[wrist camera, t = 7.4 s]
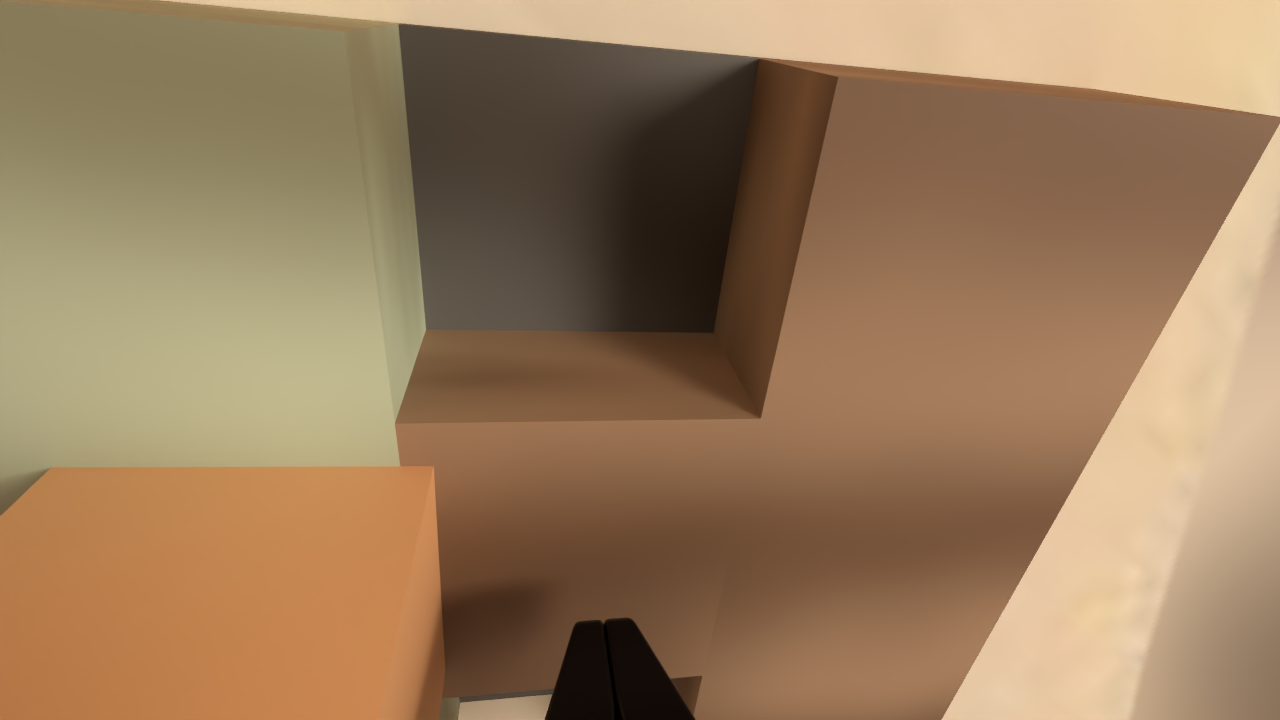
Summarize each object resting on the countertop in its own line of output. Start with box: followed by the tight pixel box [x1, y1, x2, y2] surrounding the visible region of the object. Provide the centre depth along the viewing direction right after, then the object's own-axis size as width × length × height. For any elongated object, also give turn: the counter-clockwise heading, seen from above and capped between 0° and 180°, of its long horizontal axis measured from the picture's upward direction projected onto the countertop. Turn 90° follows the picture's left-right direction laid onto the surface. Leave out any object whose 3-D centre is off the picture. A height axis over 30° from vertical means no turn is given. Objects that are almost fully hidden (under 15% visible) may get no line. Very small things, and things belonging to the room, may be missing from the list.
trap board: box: [0, 0, 1280, 720], centre depth 11 cm, size 15×17×3 cm
